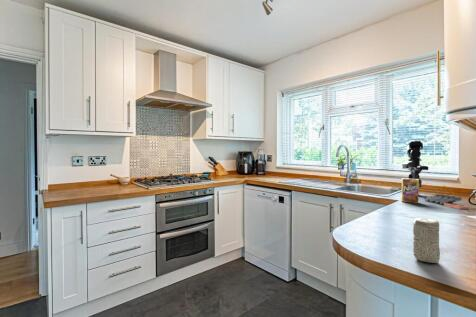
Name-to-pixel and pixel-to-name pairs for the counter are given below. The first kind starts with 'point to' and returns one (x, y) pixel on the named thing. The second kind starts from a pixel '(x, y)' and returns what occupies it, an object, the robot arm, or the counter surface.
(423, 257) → the carving
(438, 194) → the domino
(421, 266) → the counter surface
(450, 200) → the domino
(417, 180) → the candy box
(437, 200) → the domino
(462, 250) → the counter surface
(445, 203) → the end domino
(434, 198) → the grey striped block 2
